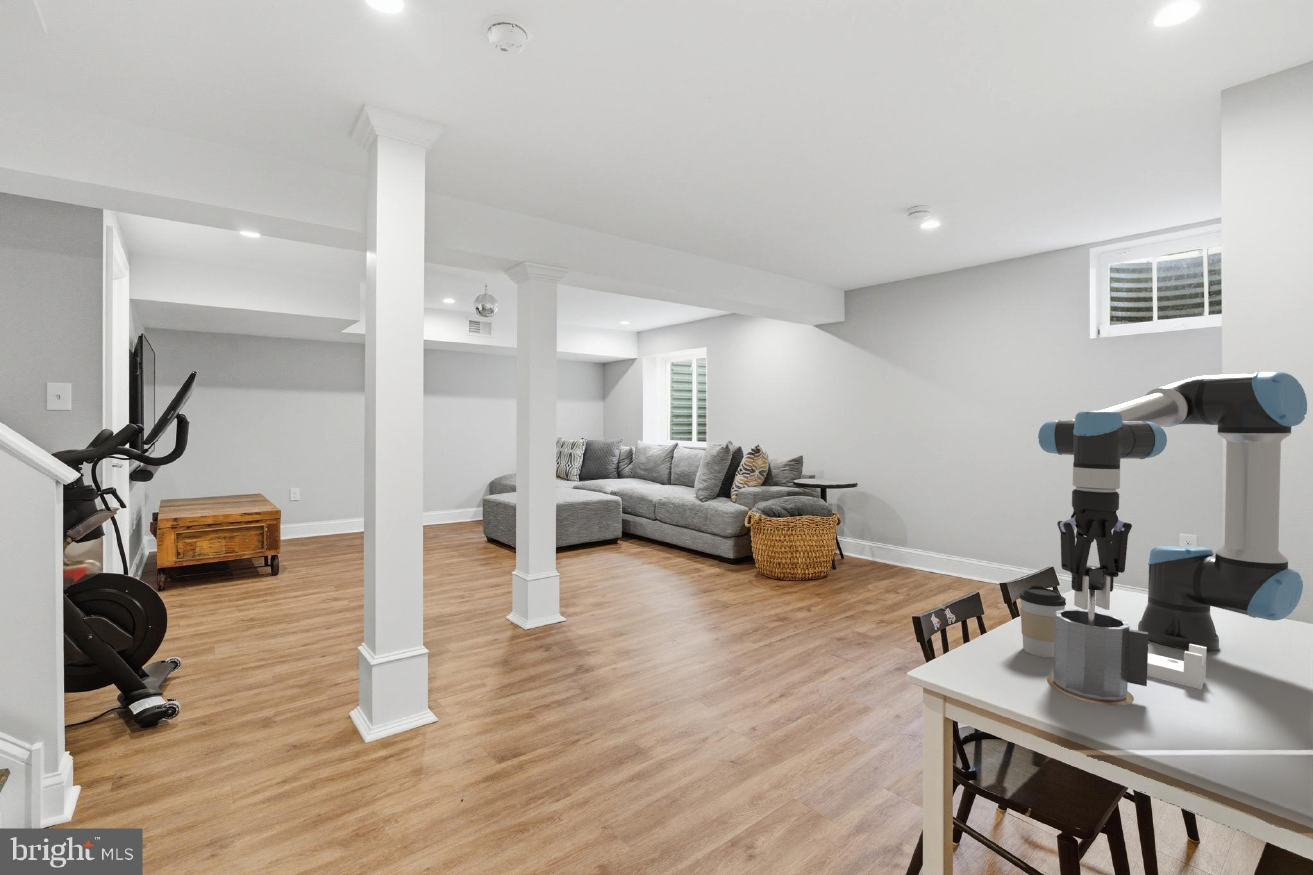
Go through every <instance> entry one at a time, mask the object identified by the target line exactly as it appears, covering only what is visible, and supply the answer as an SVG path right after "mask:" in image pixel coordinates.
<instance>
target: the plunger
mask: <svg viewBox="0 0 1313 875" xmlns="http://www.w3.org/2000/svg"><path fill="white" fill-rule="evenodd" d="M1084 575H1086V576H1088V577H1089V589H1088V610H1087V611H1088V625H1090V626H1094V615H1095V612H1096V611H1095V610H1096V605H1095V599H1096V590H1104V568H1101V567H1100V566H1096V565H1088V564H1087V566H1086V571H1085V574H1084Z"/></svg>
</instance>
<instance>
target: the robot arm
mask: <svg viewBox="0 0 1313 875" xmlns="http://www.w3.org/2000/svg"><path fill="white" fill-rule="evenodd" d="M1307 413H1308V400H1307V395H1306V392H1305V389H1304V388H1303V386H1302V384H1301V382H1299V380H1298V379H1297V377H1295V376H1293V375H1291V374H1290V373H1287V372H1283V371H1258V372H1243V373H1242V372H1241V373H1240V372H1239V373H1227V374H1225V373H1224V374H1209V375H1208V374H1207V375H1206V374H1205V375H1199V376H1195V377H1190V378H1186V379H1182V380H1179V381H1175V382H1172V383H1169V384H1166V385H1162V386H1159V387H1156V388H1153V389H1151V390H1149V391H1148V392H1147V393H1146V394H1145V395H1144V396H1142V397H1140V398H1139V397H1138V398H1136V399H1133V400H1130V401H1127V402H1123V403H1120V404H1118V405H1117V404H1116V405H1113V406H1111V407H1108V408H1105V409H1101V410H1084V411H1083V410H1081V411H1078V412H1077V413H1076V414H1075V417H1074V418H1071V419H1069V420H1061V419H1058V420H1049V421H1046V422H1045V423H1043V424H1042V425H1041V426H1040V428H1039V431H1038V436H1037V438H1038V444H1039V446H1040V448H1041V449H1042V451H1044V452H1046V453H1049V454H1056V455H1059V456H1062V455H1063V456H1065V455H1066V456H1073V463H1072V466H1073V467H1072V486H1073V487H1075V488H1074V489H1073V490H1072V491H1071V507H1072V509H1073V512H1072V514H1071V515H1070V518H1069V519H1067V520H1064V521H1063V520H1058V521H1057V528H1058V530H1059V533H1060V560H1061V562H1060V564H1061V566H1060V567H1061V569H1062V570H1063V571H1066V572H1070V575H1071V589H1072V590H1073V591H1074V595H1073V596H1074V600H1073V602H1074V604H1073V606H1075V607H1077V608H1079V609H1080V610H1086V611H1088V607H1089V577H1088V576H1086V575H1084V574H1085V571H1086V566H1087V565H1088V561H1089V558H1090V557H1089V555H1090V552H1091V548H1092V546H1091V545H1092V543H1094V541H1095V543H1096V550H1097V555H1098V563H1099V567H1101V568H1104V590H1095V607H1098V608H1101V609H1103V610H1106V611H1109V610H1110V602H1111V592H1113V591H1114V579H1115V578H1118V577H1119V575H1120V574H1119V573H1121V574H1124V573H1125V572H1126V571H1125V570H1126V563H1127V562H1126V560H1127V551H1128V542H1129V540H1128V539H1129V535H1130V532H1131V531H1132V530H1131V529H1132V527H1133V524H1132V523H1130V522H1125V521H1123V520H1120V519H1119V517H1118V514H1117V511H1119V509H1120V493H1119V492H1118V491H1117V490H1119V489H1120V488H1121V459H1130V460H1131V459H1135V460H1145V459H1149V458H1153V457H1154V458H1155V457H1156V456H1159V455H1160V454H1161V453H1163V451H1164V450H1165V449H1166V447H1167V442H1168V437H1167V434H1166V432H1165V430H1164V428H1172V427H1175V426H1177V425H1179V426H1180V425H1205V426H1206V425H1209V426H1215V425H1216V426H1217V435H1219V436H1220V437H1222V438H1223V439H1224V441H1226V447H1225V449H1226V452H1225V460H1226V461H1225V497H1224V498H1225V500H1224V501H1225V502H1224V503H1225V508H1224V545H1223V546H1222V547H1220V548H1218V549H1216V550H1215V554H1214V551H1213V549H1212V548H1209V547H1204V546H1191V545H1189V546H1188V545H1165V546H1164V545H1162V546H1156V547H1153V548H1152V549H1151V550H1150V552H1149V558H1148V563H1147V566H1148V586H1147V588H1148V590H1147V604H1146V607H1145V609H1144V612H1143V615H1142V616H1141V620H1139V622H1138V624H1137V631H1143V632H1148V634H1149V637H1148V641H1151V642H1154V643H1157V644H1160V645H1164V646H1167V647H1171V648H1176V649H1180V650H1181V649H1182V650H1186V651H1189V644H1194V645H1199V646H1203V647H1207V651H1206V652H1210V651H1211V652H1212V651H1216V650H1219V648H1220V637H1219V635H1218V634H1217V630H1216V628H1215V627H1216V626H1215V624H1214V621H1213V618H1212V615H1211V607H1213V608H1217V609H1221V610H1225V611H1230V612H1232V613H1233V612H1234V613H1237V614H1241V615H1245V616H1248V617H1251V618H1257V619H1263V620H1268V621H1273V622H1274V621H1281V620H1283V619H1286V618H1287V617H1288V616H1289V615H1291V614H1292V613H1294V612H1293V611H1294V610H1295V609H1296V607H1297V606H1298V605H1299V602H1300V600H1301V598H1302V594H1303V589H1304V584H1303V583H1304V581H1303V579H1302V575H1301V574H1300V573H1299V572H1298V571H1296V570H1293V569H1291V568H1289V558H1287V556H1285V555H1284V554H1283V553H1281V552H1280V550H1279V543H1280V541H1279V540H1280V539H1279V537H1280V535H1279V534H1280V502H1281V501H1280V499H1281V497H1280V496H1281V495H1280V493H1281V492H1280V490H1281V451H1282V450H1281V449H1282V442H1283V440H1285V439H1287V438H1288V437H1290V436H1291V435H1292V427H1297V426H1299V425H1301V424H1302V423H1303V421H1304V420H1305V419H1306V416H1305V415H1307ZM1075 531H1076V532H1075ZM1214 555H1215V556H1214Z"/></svg>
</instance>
